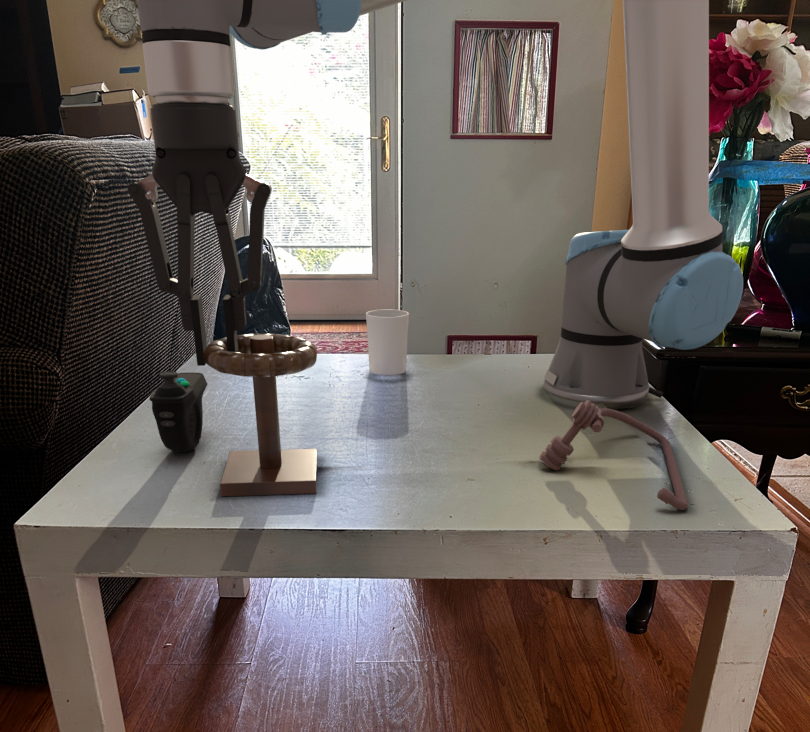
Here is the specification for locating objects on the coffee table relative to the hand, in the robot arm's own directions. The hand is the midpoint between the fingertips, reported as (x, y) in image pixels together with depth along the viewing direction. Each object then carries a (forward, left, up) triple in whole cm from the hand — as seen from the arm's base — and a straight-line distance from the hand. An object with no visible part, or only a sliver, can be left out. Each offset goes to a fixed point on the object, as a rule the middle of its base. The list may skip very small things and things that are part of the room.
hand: (218, 361), depth 81 cm
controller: (+6, -11, -13) cm, 18 cm away
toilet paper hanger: (-43, +1, -13) cm, 45 cm away
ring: (-4, 0, +1) cm, 4 cm away
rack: (-5, 0, -13) cm, 14 cm away
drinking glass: (-21, -42, -13) cm, 49 cm away
